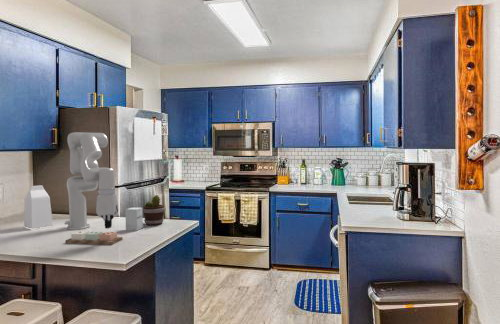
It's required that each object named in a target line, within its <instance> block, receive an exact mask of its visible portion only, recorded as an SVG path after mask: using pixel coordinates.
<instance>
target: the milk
mask: <svg viewBox="0 0 500 324" xmlns="http://www.w3.org/2000/svg"><path fill="white" fill-rule="evenodd" d="M23 205H24V209H23V217H24V218H23V227H24V226H25V227H28V228H32V229H33V228H40V227H47V226H53V227H54V224H53V214H52V207H51V206H52V205H51V197H50V195H49V194H48V192H47V191H46V190H45V188H44V186H43V184H42V185H31V186H30V188H29V190H28V192H27V193H26V195H25V197H24V204H23Z"/></svg>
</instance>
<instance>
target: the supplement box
mask: <svg viewBox="0 0 500 324" xmlns="http://www.w3.org/2000/svg"><path fill="white" fill-rule="evenodd" d="M142 208H143V207H129V208H125V211H124V212H125V231H131V232H134V231H135V232H137V231H138V230H141V229H143V228H144V227H143V226H144V225H143V221H144V219H143V217H144V215H143V212H142Z"/></svg>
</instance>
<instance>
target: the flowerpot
mask: <svg viewBox="0 0 500 324" xmlns="http://www.w3.org/2000/svg"><path fill="white" fill-rule="evenodd" d="M150 200H151V201H149V200H148V201H146V202H145V205H143V206H142V207H141V208H142V214H143V217H144V219H143V221H144V223H145V225H146V226H158V225H162V224H163V223H164V220H165V219H164V215H165V214H164V213H165V212H166V206H165V205H164V204H161V202H162V198H161V197H159V194H157V193H156V194H154V196H153V197H152V198H151V199H150Z"/></svg>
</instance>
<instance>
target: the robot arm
mask: <svg viewBox="0 0 500 324" xmlns="http://www.w3.org/2000/svg"><path fill="white" fill-rule="evenodd" d="M108 144H109V140H108V137H107V135H106V134H105V133H103V132H84V131H83V132H79V131H75V132H71V133H69V134H68V135H67V145H68V146H67V147H68V149H69V157H70V159H69V171H70V173H71V174H72V175H74V176H71V177H69V178H68V179H67V180H66V188H67V193H68V207H69V208H68V210H69V212H68V213H69V218H68V219H69V220H65V221H64V225H67V226H66V229H67V230H70V231H74V230H75V231H80V230H84V229H89V228H90V224H89V223H88V222H87V221H88V218H87V217H88V215H87V211H88V210H87V198H86V196H85V195H84V194H83V192H93V191H96V192H97V194H98V195H97V197H96V206H95V207H96V208H95V209H96V210H95V211H96V215H97V217H99V218H102V220H103V221H104V228H105V229H111V228H112V226H113V219H114V218H116V217H118V216H119V202H118V196H117V194H116V186H115V184H116V181H115V179H116V178H115V170H114V169H113V168H112V167H110V168H109V167H99V162H98V160H100V158H101V157H102V155H103V152H102V150H101V148H107V146H108ZM97 188H98V190H97Z"/></svg>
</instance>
